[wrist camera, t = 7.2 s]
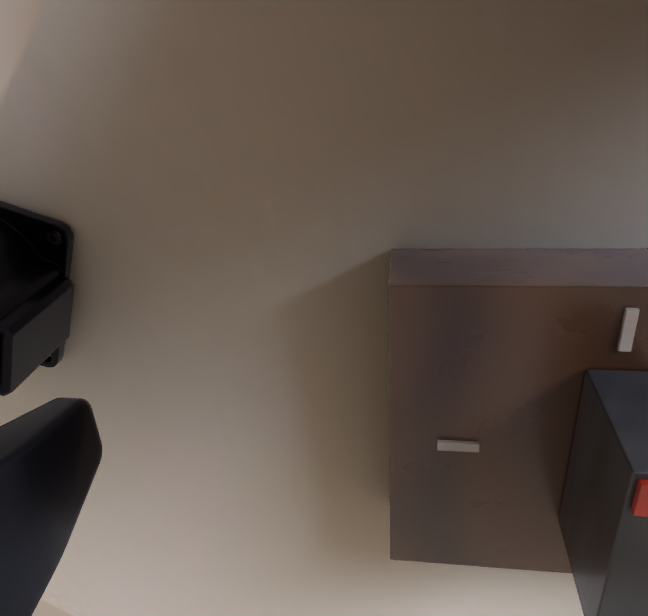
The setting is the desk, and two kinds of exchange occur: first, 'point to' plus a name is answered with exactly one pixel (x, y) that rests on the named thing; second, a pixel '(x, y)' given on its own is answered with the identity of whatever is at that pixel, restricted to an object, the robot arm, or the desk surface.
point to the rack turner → (609, 495)
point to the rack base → (498, 392)
